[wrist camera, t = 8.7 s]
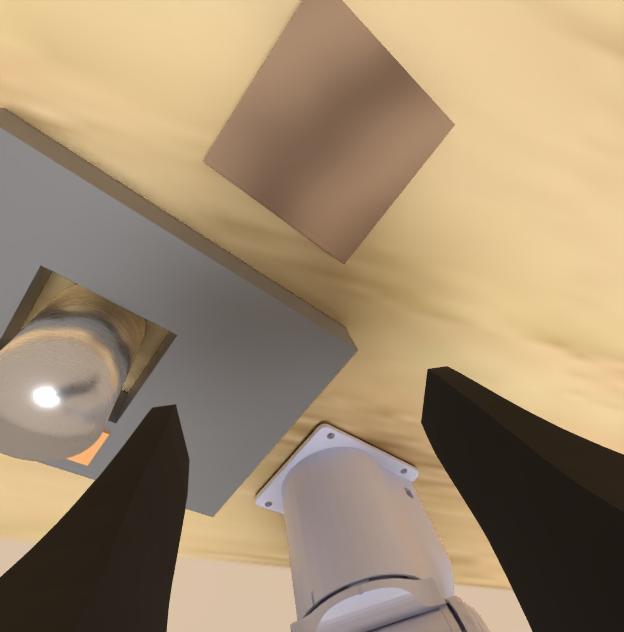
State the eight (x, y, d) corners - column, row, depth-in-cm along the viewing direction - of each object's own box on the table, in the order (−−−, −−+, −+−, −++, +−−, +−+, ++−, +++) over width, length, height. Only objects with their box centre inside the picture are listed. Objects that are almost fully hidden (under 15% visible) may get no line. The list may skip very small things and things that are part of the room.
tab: (444, 124, 18) (454, 124, 17) (339, 258, 20) (343, 264, 19) (314, -17, 15) (318, -25, 14) (204, 159, 17) (202, 161, 16)
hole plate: (345, 327, 22) (359, 352, 20) (214, 483, 26) (212, 520, 23) (4, 108, 15) (-40, 105, 13) (-113, 366, 18) (-164, 402, 16)
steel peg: (163, 315, 20) (130, 401, 14) (115, 373, 21) (65, 477, 15) (80, 264, 18) (-1, 336, 12) (32, 329, 19) (-65, 428, 13)
